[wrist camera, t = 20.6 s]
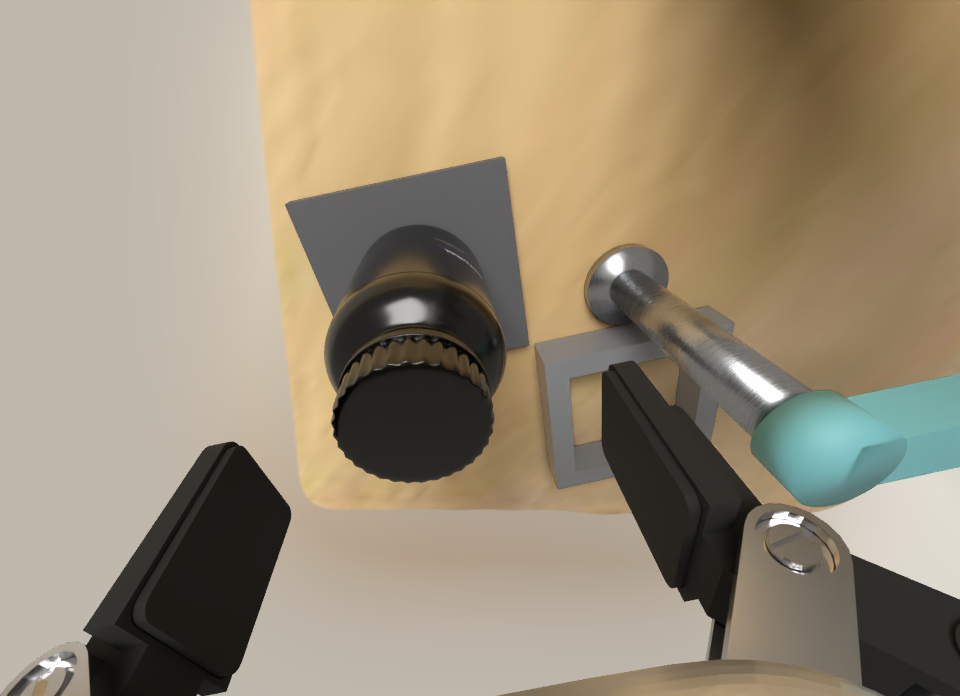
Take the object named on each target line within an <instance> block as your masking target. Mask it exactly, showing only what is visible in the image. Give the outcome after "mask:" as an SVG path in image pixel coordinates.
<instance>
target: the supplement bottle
mask: <svg viewBox="0 0 960 696" xmlns="http://www.w3.org/2000/svg"><path fill="white" fill-rule="evenodd" d="M324 359H325V366H326V371H327V374H328V377H329V380H330V382H331V384H332V386H333V388H334V390H335V392H336V393H337V396H336V399H335V402H334V405H333V416H332V419H331V424H332V426H333V428H334V430H333V436H334V438H335V439H336V440H337V441H338V447H339V448H340V449H341V450H342V451H343V452H344V455H345V457H346V458H348V459H350V460H351V461H352V462H353V463H354V465H355V466H357V467H359V468H362V469H363V470H364V471H365V472H366V473H369V474H373V475H375V476H377V477H378V478H380V479H389V480H391V481H393V482H399V481H402V482H406V483H411V482H422V483H423V482H426V481H428V480H438V479H440V478H442V477H447V476H450V475H452V474H453V473H454V472H457V471H461V470H463V469H464V467H465V466H466V465H469V464H471V463H473V461H474V460H475V458H476V457H477V456H479V455H481V454H482V451H483V448H484V447H485V446H486V445H488V442H489V437H490V436H491V434H492V433H493V427H492V425H493V423H494V413H493V404H492V399H491V398H492V397H493V395H494V394H495V392H496V390H497V388H498V387H499V384H500V382H501V380H502V377H503V374H504V370H505V365H506V344H505V338H504V334H503V330H502V327H501V324H500V321H499V318H498V316H497V313H496V310H495V307H494V304H493V302H492V299H491V296H490V293H489V290H488V287H487V285H486V282H485V279H484V276H483V273H482V271H481V268H480V266H479V263H478V261H477V259H476V257H475V256H474V254H473V253H472V251H471V250H470V249H469V248H468V246H467V245H466V244H465V243H464V242H463V241H462V240H460V239H459V238H458V237H456V236H455V235H454V234H452V233H450V232H448V231H446V230H444V229H441V228H438V227H435V226H430V225H407V226H402V227H399V228H396V229H394V230H391V231H389V232H387V233H386V234H384V235H383V236H381V237H380V238H379V239H378V240H376V241H375V242H374V243H373V244H372V246H371V247H370V248H369V249H368V251H367V252H366V254H365V256H364V257H363V259H362V261H361V262H360V264H359V266H358V268H357V270H356V272H355V274H354V276H353V278H352V280H351V282H350V284H349V286H348V288H347V290H346V292H345V294H344V296H343V298H342V300H341V302H340V304H339V306H338V308H337V310H336V312H335V314H334V316H333V319H332V321H331V323H330V326H329V329H328V332H327V335H326V340H325V346H324Z"/></svg>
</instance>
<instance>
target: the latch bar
mask: <svg viewBox="0 0 960 696" xmlns="http://www.w3.org/2000/svg"><path fill="white" fill-rule="evenodd" d="M750 447H751V451H752V454H753V455H754V456H755V457H756V458H757V459H758V461H759V462H760V463H761V464H762V465H763V466H764V467H765V468H766V469H767V470H768V471H769V472H770V473H771V474H772V475H773V476H774V477H775V478H776V479H777V480H778V481H779V482H780V483H781V484H782V485H783V486H784V487H785V488H786V489H787V490H788V491H789V492H790V493H791V494H792V495H793V496H794V497H795V498H796V499H797V500H798V501H799V502H800V503H801V504H803V505H806V506H810V507H825V506H831V505H835V504H839V503H842V502H845V501H848V500H850V499H853V498H855V497H857V496H859V495H861V494H863V493H865V492H866V491H868V490H870V489H872V488H873V487H875V486H876V485H878V484H883V483H888V482H892V481H897V480H901V479H906V478H910V477H915V476H919V475H924V474H929V473H934V472H939V471H943V470H948V469H953V468H957V467H960V374H956V375H951V376H946V377H942V378H937V379H932V380H927V381H923V382H918V383H913V384H908V385H904V386H899V387H894V388H889V389H885V390H880V391H875V392H870V393H866V394H861V395H856V396H851V397H847V398H846V397H844V396H843V395H841V394H840V393H838V392H835V391H831V390H817V391H811V392H807V393H804V394H801V395H799V396H796V397H794V398H792V399H790V400H788V401H786V402H784V403H783V404H781V405H780V406H778V407H777V408H776V409H774V410H773V411H772V412H771V413H769V414H768V415H767V416H766V417H765V418H764V419H763V420H762V422H761V423H760V424H759V425H758V427H757V428H756V430H755V432H754V433H753V436H752V439H751V445H750Z"/></svg>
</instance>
